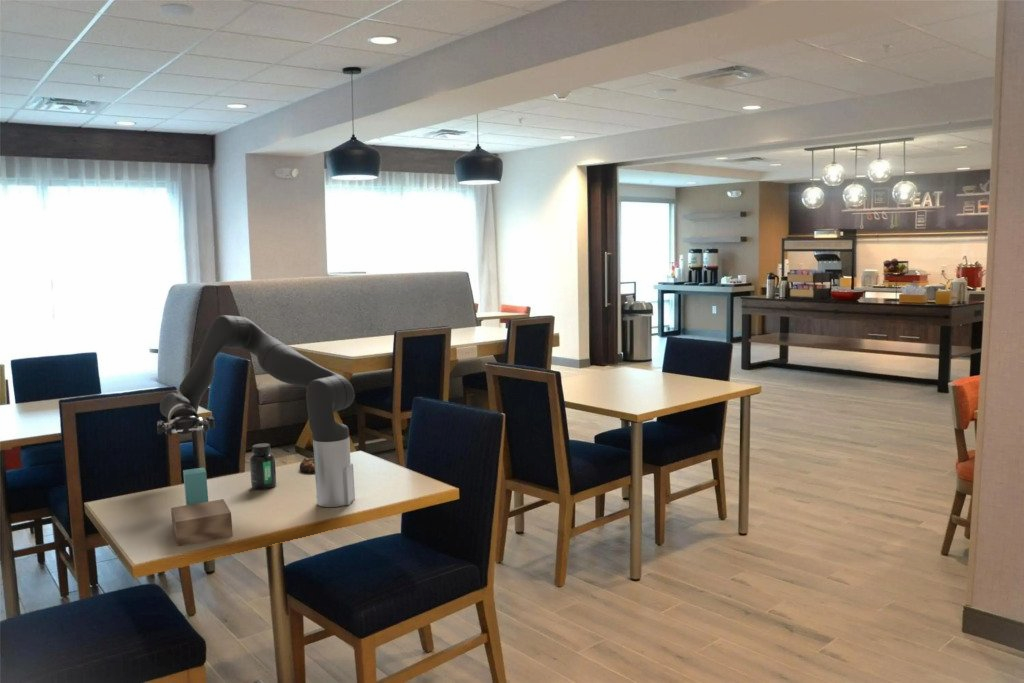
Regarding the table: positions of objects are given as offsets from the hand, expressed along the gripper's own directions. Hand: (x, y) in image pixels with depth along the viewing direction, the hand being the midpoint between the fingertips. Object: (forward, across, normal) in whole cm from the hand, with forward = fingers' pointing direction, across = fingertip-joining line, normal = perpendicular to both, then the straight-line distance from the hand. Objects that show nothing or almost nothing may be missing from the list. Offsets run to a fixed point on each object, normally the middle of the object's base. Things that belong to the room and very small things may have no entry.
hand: (188, 430), depth 210 cm
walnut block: (+25, 0, +20) cm, 32 cm away
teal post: (+11, 0, +20) cm, 23 cm away
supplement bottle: (-8, +19, +21) cm, 29 cm away
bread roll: (-18, +37, +21) cm, 46 cm away
